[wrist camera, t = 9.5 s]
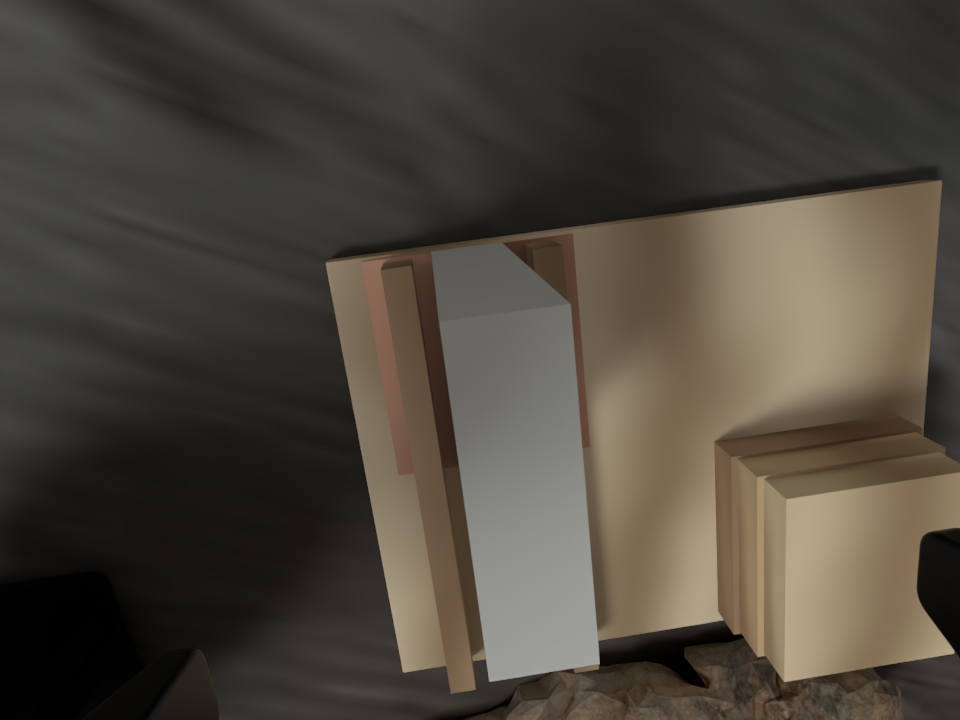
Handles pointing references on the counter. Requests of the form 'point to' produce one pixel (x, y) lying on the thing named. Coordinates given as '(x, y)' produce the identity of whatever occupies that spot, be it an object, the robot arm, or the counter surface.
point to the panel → (518, 459)
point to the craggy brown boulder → (702, 692)
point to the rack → (641, 387)
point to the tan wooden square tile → (765, 445)
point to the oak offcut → (753, 507)
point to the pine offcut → (852, 564)
